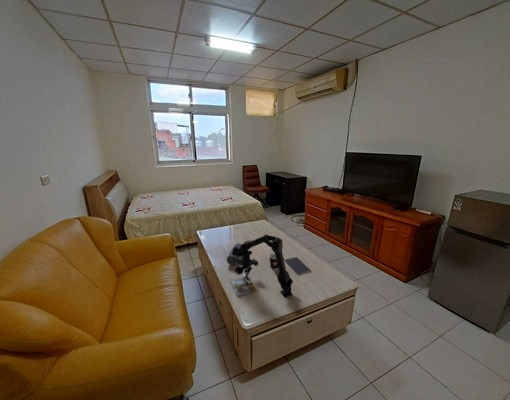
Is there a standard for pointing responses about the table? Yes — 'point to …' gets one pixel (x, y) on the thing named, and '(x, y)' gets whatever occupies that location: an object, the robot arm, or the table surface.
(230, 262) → the bluetooth speaker
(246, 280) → the latch bar
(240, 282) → the door panel
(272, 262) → the coffee mug
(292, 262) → the notebook
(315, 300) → the table surface
